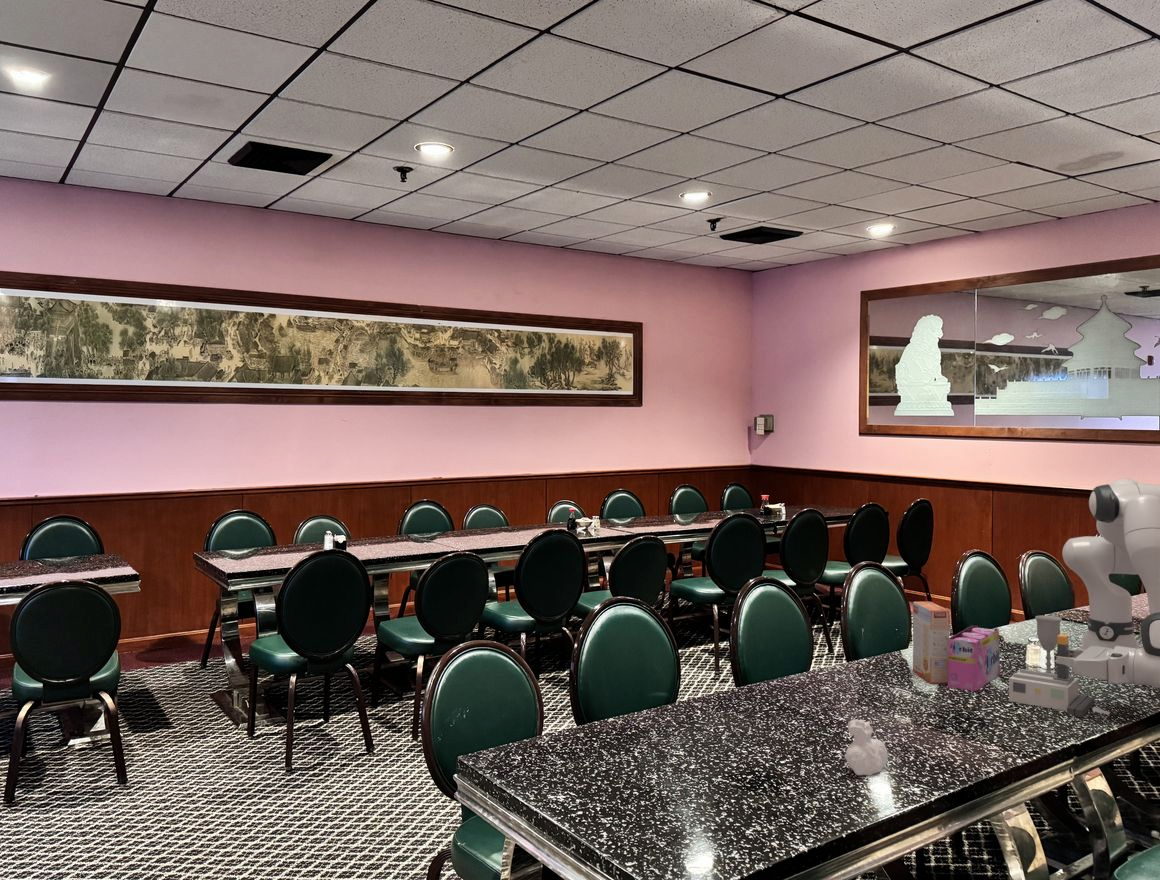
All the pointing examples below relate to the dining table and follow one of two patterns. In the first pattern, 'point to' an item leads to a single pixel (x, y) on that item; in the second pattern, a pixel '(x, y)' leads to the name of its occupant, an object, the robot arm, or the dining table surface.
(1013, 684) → the box
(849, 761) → the bust
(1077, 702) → the dark grey grooved bar
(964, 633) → the gum box
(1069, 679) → the breaker lever
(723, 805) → the dining table surface
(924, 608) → the cracker box
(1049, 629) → the chalice
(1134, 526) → the robot arm
